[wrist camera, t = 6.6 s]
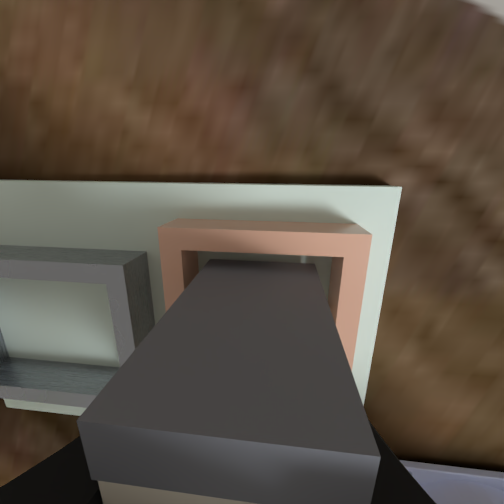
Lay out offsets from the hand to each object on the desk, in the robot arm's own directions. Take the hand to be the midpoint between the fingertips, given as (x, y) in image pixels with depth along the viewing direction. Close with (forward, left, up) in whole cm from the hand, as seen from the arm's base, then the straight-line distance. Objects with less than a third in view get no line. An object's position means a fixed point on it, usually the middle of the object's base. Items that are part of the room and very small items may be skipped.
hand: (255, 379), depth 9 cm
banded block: (0, 0, -2) cm, 2 cm away
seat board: (+5, 0, -4) cm, 6 cm away
